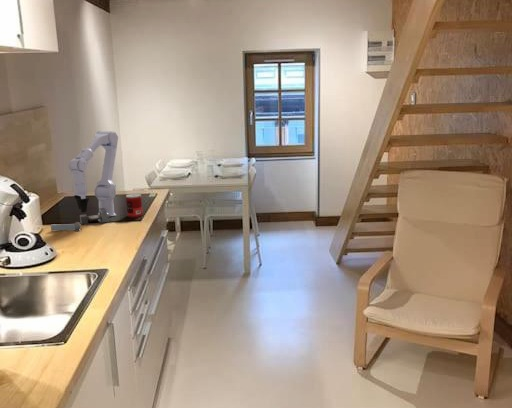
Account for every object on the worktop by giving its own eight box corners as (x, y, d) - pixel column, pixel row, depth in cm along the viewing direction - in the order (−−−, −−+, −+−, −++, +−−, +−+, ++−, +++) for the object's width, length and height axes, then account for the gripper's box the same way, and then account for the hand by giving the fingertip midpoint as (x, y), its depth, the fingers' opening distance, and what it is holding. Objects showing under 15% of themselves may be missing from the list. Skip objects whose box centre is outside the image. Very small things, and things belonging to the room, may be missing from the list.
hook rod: (80, 223, 260) (79, 215, 259) (109, 218, 266) (108, 211, 265) (81, 224, 257) (80, 217, 256) (110, 220, 263) (110, 212, 262)
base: (73, 229, 249) (73, 229, 249) (81, 228, 251) (81, 228, 251) (74, 231, 246) (74, 231, 246) (82, 230, 248) (82, 230, 248)
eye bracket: (97, 220, 265) (96, 208, 263) (107, 219, 267) (106, 207, 265) (99, 223, 259) (98, 211, 258) (110, 221, 262) (108, 209, 260)
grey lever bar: (50, 230, 247) (50, 224, 247) (52, 229, 250) (51, 222, 249) (79, 230, 247) (78, 223, 246) (81, 228, 249) (80, 222, 249)
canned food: (144, 213, 275) (143, 193, 273) (140, 217, 268) (138, 196, 265) (130, 213, 276) (128, 193, 274) (125, 217, 269) (123, 196, 266)
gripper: (69, 182, 259) (72, 208, 262) (73, 186, 246) (76, 214, 249) (83, 180, 262) (86, 206, 265) (88, 185, 249) (91, 212, 252)
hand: (82, 210), depth 257 cm, fingers open, 7 cm apart
